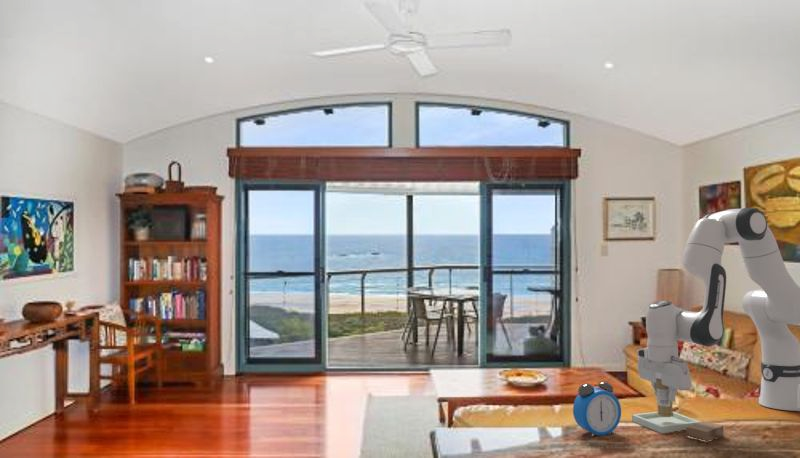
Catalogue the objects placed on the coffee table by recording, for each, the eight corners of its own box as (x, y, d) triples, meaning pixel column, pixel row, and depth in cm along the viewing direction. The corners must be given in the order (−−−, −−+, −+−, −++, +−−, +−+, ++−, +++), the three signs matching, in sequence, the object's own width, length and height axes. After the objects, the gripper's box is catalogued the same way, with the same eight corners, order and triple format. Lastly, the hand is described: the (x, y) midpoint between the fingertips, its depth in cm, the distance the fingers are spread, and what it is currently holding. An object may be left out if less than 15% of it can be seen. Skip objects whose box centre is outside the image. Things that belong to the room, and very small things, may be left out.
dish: (669, 416, 197) (669, 410, 197) (701, 428, 183) (701, 421, 183) (632, 421, 193) (631, 414, 193) (661, 433, 180) (661, 426, 180)
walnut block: (703, 431, 180) (702, 421, 180) (723, 436, 175) (722, 425, 175) (686, 437, 175) (685, 427, 175) (707, 442, 170) (706, 432, 170)
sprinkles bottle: (675, 415, 188) (673, 371, 189) (669, 418, 185) (667, 374, 185) (660, 412, 191) (658, 369, 192) (654, 415, 188) (652, 372, 189)
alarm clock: (584, 439, 177) (582, 387, 177) (572, 433, 183) (570, 382, 183) (623, 433, 181) (620, 382, 181) (610, 428, 187) (608, 378, 187)
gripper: (695, 358, 180) (697, 405, 179) (650, 348, 199) (651, 390, 199) (677, 360, 178) (679, 408, 178) (633, 349, 198) (635, 392, 197)
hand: (664, 398), depth 188 cm, fingers closed on sprinkles bottle, 4 cm apart
